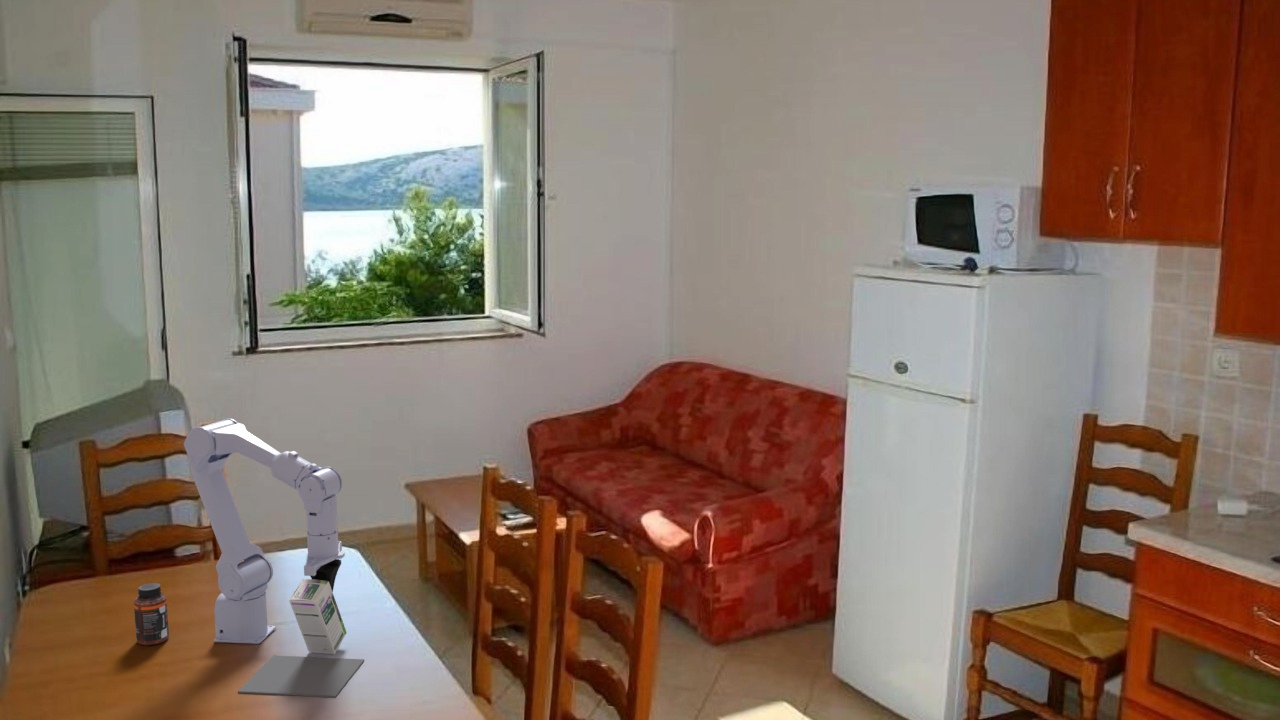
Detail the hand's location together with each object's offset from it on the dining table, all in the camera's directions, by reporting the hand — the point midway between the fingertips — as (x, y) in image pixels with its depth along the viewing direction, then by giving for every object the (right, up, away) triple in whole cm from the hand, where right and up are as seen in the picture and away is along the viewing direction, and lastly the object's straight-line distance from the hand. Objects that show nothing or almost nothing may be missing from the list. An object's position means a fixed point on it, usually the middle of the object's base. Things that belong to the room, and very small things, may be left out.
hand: (325, 598), depth 208 cm
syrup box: (0, -9, +2) cm, 9 cm away
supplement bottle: (-36, -10, +5) cm, 38 cm away
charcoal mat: (-1, -12, -10) cm, 16 cm away
